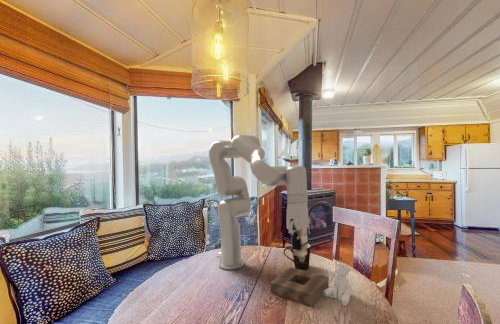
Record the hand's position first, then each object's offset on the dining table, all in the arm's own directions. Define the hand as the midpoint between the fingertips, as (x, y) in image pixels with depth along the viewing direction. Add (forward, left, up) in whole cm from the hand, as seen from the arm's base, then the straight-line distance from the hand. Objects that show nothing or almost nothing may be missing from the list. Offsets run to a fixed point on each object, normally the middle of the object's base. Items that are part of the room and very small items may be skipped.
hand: (299, 247), depth 92 cm
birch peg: (0, 0, -3) cm, 3 cm away
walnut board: (0, 0, -16) cm, 16 cm away
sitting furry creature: (+13, +4, -17) cm, 21 cm away
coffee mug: (-10, +19, -16) cm, 27 cm away
